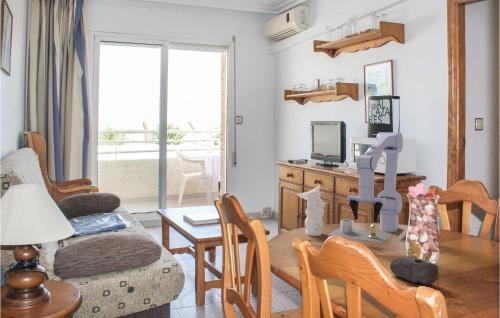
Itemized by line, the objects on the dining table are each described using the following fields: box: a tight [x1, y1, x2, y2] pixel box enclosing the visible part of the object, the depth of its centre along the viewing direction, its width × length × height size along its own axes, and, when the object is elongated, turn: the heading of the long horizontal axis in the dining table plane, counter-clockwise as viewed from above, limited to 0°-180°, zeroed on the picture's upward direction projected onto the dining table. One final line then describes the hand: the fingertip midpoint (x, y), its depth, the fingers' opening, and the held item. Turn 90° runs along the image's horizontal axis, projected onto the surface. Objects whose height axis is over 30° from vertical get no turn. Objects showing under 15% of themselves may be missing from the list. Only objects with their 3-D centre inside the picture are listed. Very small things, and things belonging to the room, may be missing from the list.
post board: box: [327, 224, 393, 243], centre depth 182 cm, size 16×23×6 cm
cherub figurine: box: [297, 183, 326, 237], centre depth 185 cm, size 12×12×22 cm
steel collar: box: [339, 218, 355, 234], centre depth 186 cm, size 5×5×5 cm
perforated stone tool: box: [389, 257, 439, 286], centre depth 131 cm, size 15×5×7 cm, turn 36°
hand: (365, 220), depth 170 cm, fingers open, 7 cm apart
